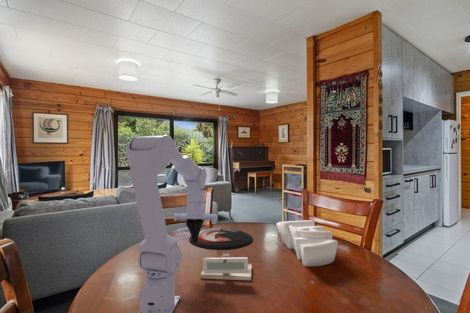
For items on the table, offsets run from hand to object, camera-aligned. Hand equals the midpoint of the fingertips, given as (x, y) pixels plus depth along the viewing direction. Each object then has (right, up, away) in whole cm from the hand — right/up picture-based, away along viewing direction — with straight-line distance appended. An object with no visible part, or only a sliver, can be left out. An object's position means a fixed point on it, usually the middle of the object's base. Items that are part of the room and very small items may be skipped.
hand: (195, 241), depth 82 cm
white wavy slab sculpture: (+42, -10, +16) cm, 46 cm away
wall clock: (+7, -11, +32) cm, 34 cm away
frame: (+11, -7, -7) cm, 15 cm away
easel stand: (+11, -10, -1) cm, 15 cm away
